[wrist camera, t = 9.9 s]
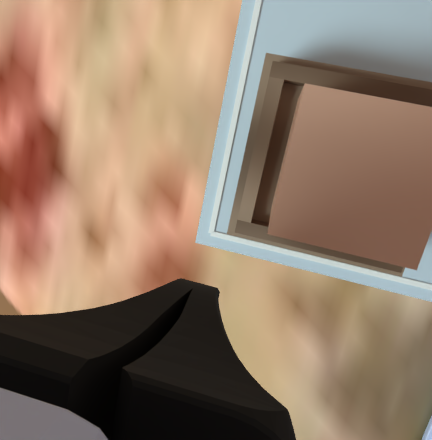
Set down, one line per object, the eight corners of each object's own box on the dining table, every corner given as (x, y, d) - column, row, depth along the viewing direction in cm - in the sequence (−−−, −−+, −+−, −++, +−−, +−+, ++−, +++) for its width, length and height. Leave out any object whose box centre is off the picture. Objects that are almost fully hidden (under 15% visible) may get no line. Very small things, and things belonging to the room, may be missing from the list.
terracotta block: (375, 229, 16) (416, 270, 11) (271, 205, 16) (267, 234, 11) (410, 122, 15) (474, 114, 10) (297, 100, 15) (304, 83, 10)
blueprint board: (437, 297, 20) (446, 306, 19) (199, 237, 22) (194, 243, 21) (573, -46, 16) (593, -59, 15) (262, -86, 18) (261, -101, 17)
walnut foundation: (381, 252, 19) (407, 283, 15) (235, 218, 20) (223, 238, 16) (433, 98, 17) (480, 86, 13) (268, 68, 18) (265, 47, 14)
